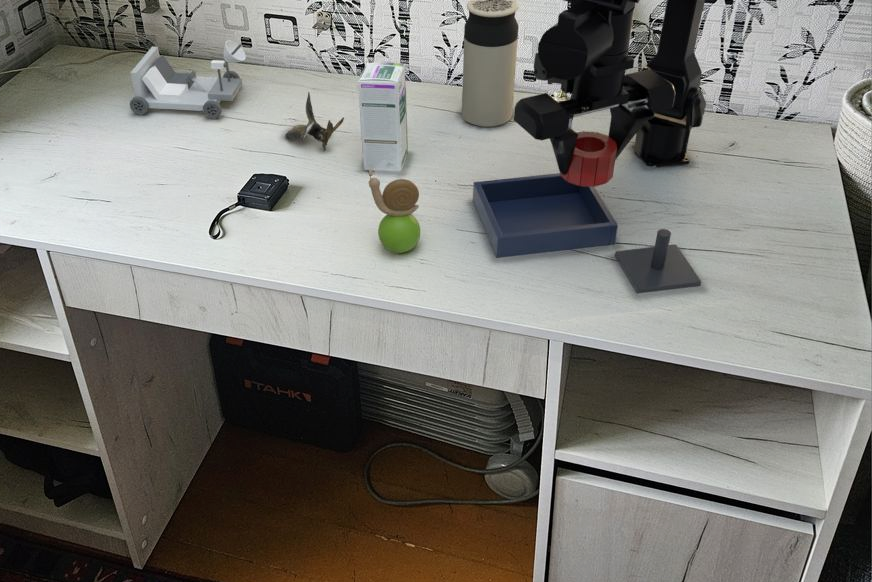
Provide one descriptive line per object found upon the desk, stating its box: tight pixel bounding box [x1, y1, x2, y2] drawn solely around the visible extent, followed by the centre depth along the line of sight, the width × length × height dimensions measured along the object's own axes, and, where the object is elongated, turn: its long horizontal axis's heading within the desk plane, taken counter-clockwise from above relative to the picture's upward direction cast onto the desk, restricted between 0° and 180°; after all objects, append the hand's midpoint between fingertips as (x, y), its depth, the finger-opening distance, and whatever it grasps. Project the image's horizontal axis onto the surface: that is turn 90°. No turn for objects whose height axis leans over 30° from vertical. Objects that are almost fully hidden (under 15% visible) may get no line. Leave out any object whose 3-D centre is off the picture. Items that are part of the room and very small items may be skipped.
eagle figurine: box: [284, 91, 345, 152], centre depth 143 cm, size 8×7×9 cm
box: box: [472, 172, 619, 259], centre depth 125 cm, size 16×14×3 cm
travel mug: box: [461, 0, 519, 128], centre depth 143 cm, size 8×8×18 cm
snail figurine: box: [367, 169, 421, 254], centre depth 118 cm, size 5×6×12 cm
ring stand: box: [614, 228, 702, 294], centre depth 115 cm, size 8×8×6 cm
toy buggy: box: [129, 39, 247, 120], centre depth 153 cm, size 18×10×12 cm
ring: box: [559, 130, 617, 188], centre depth 115 cm, size 7×7×4 cm
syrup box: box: [357, 61, 409, 173], centre depth 134 cm, size 6×6×14 cm
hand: (586, 167), depth 116 cm, fingers closed on ring, 6 cm apart
